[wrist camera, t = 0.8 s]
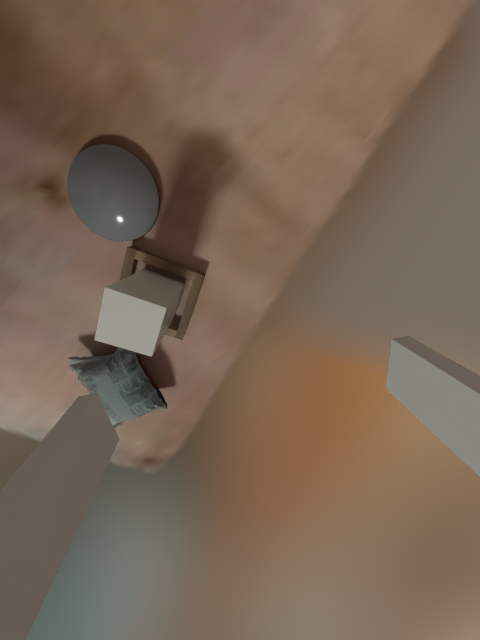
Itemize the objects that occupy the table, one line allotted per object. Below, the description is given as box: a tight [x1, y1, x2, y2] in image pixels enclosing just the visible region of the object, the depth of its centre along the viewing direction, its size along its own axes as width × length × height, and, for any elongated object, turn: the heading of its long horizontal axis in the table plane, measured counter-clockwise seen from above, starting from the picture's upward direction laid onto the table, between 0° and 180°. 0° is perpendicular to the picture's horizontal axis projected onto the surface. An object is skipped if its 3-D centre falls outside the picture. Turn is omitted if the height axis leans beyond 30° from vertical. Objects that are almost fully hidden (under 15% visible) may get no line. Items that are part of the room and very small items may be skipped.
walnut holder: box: [120, 246, 205, 340], centre depth 28 cm, size 9×9×1 cm
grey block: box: [94, 269, 185, 357], centre depth 24 cm, size 5×5×10 cm
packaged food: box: [68, 347, 167, 428], centre depth 31 cm, size 9×12×5 cm
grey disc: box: [68, 144, 160, 241], centre depth 24 cm, size 9×9×1 cm
